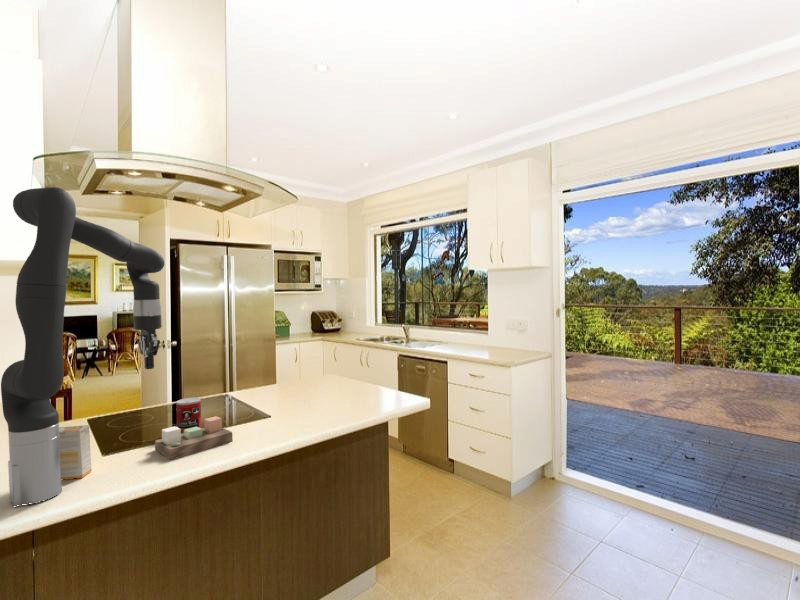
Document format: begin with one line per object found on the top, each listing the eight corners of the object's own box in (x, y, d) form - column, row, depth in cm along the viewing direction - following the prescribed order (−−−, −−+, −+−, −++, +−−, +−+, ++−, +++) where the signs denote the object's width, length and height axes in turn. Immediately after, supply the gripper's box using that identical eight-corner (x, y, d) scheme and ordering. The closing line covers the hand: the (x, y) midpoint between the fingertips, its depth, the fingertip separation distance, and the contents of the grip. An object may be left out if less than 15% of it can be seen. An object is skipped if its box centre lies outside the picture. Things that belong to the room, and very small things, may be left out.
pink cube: (210, 433, 136) (209, 421, 136) (204, 431, 139) (204, 419, 139) (221, 430, 139) (221, 418, 139) (216, 427, 142) (215, 416, 142)
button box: (170, 459, 122) (170, 447, 122) (155, 450, 130) (154, 438, 130) (232, 441, 137) (232, 430, 137) (215, 433, 145) (215, 423, 145)
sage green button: (189, 444, 131) (189, 432, 131) (184, 442, 134) (183, 429, 134) (202, 441, 134) (202, 428, 134) (196, 438, 137) (196, 426, 137)
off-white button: (167, 445, 126) (166, 432, 126) (162, 442, 129) (161, 429, 129) (181, 441, 129) (180, 428, 129) (175, 438, 132) (175, 426, 132)
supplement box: (92, 471, 116) (90, 424, 115) (82, 478, 111) (80, 429, 111) (59, 473, 114) (57, 426, 114) (47, 481, 110) (45, 432, 109)
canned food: (174, 436, 143) (173, 404, 143) (180, 428, 150) (179, 398, 150) (199, 433, 145) (198, 402, 145) (203, 426, 153) (202, 396, 152)
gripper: (126, 314, 134) (128, 368, 134) (141, 315, 125) (143, 373, 125) (152, 313, 139) (154, 364, 140) (168, 314, 131) (170, 369, 131)
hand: (149, 368), depth 133 cm, fingers closed
